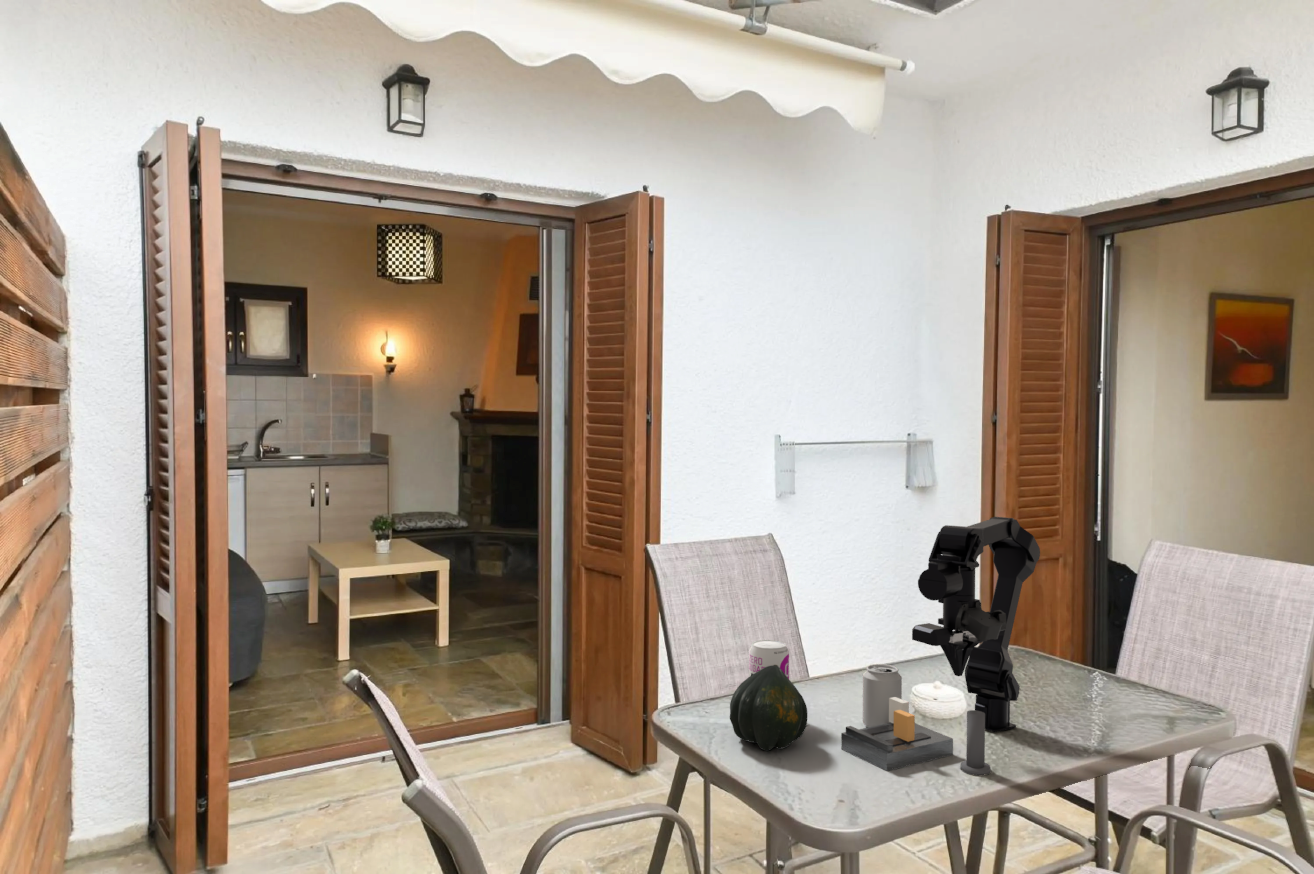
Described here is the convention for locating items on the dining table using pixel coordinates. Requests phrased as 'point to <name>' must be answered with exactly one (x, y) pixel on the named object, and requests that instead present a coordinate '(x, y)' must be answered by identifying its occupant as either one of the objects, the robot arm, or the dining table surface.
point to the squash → (768, 709)
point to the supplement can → (768, 656)
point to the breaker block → (895, 746)
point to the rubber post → (975, 745)
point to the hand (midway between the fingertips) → (958, 675)
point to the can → (879, 693)
